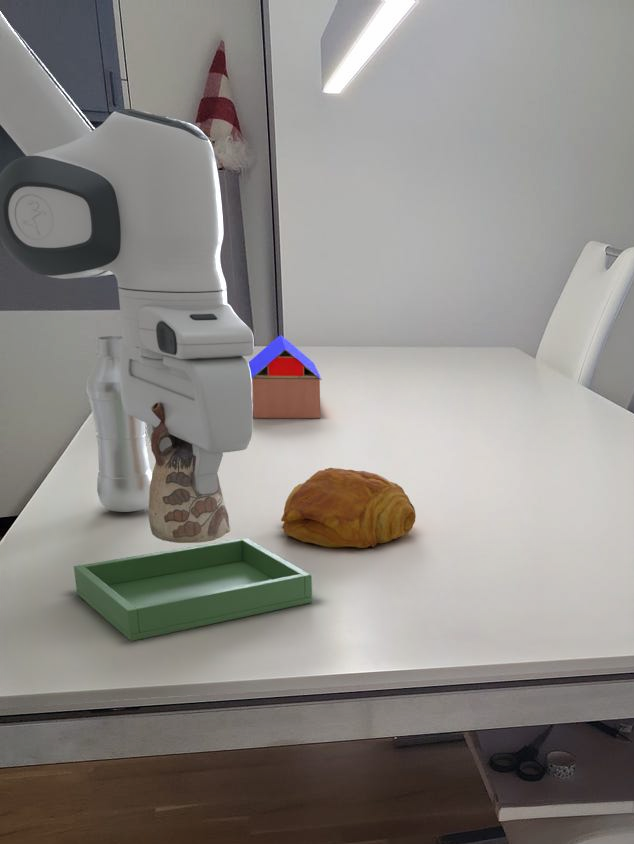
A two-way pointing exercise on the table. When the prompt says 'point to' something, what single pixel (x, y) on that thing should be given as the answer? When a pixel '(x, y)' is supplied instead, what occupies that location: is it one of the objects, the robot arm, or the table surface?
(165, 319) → the robot arm
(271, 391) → the house
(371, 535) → the croissant
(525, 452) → the table surface
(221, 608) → the green tray
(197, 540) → the figurine
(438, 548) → the table surface
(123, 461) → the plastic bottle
